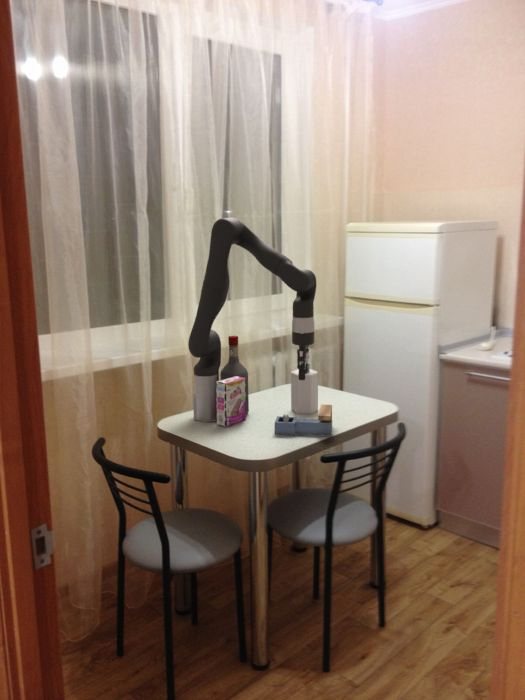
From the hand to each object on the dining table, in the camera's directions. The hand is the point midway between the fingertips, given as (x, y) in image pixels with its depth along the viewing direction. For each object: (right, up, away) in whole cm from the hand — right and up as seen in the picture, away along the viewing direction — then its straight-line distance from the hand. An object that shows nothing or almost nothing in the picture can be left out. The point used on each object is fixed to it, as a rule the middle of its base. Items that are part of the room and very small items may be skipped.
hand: (303, 376), depth 218 cm
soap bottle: (+2, -14, +30) cm, 33 cm away
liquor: (-24, -15, +27) cm, 39 cm away
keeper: (+8, -19, +4) cm, 22 cm away
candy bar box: (-25, -18, +16) cm, 35 cm away
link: (0, -20, +4) cm, 20 cm away
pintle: (-6, -20, +5) cm, 21 cm away
